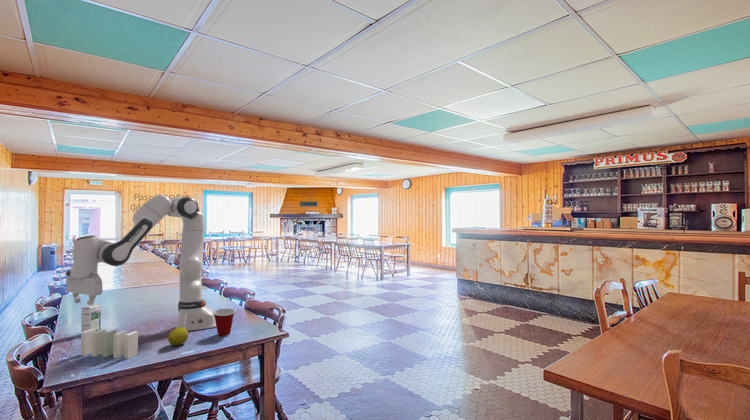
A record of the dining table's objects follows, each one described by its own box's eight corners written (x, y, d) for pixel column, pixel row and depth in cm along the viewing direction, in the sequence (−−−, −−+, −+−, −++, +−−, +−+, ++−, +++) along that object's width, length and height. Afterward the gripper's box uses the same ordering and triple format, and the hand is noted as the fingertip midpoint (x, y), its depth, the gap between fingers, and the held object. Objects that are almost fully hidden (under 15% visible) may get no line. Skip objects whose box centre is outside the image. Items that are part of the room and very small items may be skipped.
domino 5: (124, 358, 154) (124, 334, 154) (134, 354, 159) (134, 331, 159) (128, 358, 154) (128, 335, 154) (137, 354, 159) (138, 331, 159)
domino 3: (116, 352, 161) (116, 330, 161) (106, 357, 156) (106, 333, 156) (112, 352, 161) (113, 329, 161) (102, 356, 156) (102, 333, 156)
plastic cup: (219, 339, 178) (219, 314, 179) (208, 334, 185) (209, 311, 186) (239, 333, 187) (239, 310, 187) (229, 329, 194) (229, 307, 194)
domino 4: (113, 357, 155) (113, 334, 155) (123, 353, 160) (123, 330, 160) (116, 358, 155) (117, 334, 155) (126, 353, 160) (127, 330, 160)
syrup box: (90, 335, 185) (90, 306, 185) (80, 334, 186) (81, 306, 186) (100, 332, 190) (101, 304, 190) (91, 331, 191) (91, 303, 192)
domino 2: (91, 356, 157) (92, 332, 157) (102, 351, 162) (102, 329, 162) (95, 356, 157) (95, 333, 157) (105, 352, 162) (105, 329, 162)
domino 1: (80, 355, 158) (81, 332, 158) (91, 351, 163) (91, 328, 163) (84, 355, 158) (84, 332, 158) (95, 351, 163) (95, 329, 163)
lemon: (180, 340, 177) (180, 324, 177) (193, 342, 175) (193, 325, 175) (161, 348, 166) (161, 330, 167) (175, 350, 164) (175, 332, 164)
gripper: (107, 273, 160) (106, 304, 160) (79, 270, 168) (78, 300, 168) (91, 274, 154) (90, 307, 154) (63, 271, 162) (61, 303, 162)
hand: (83, 303), depth 161 cm, fingers open, 8 cm apart
